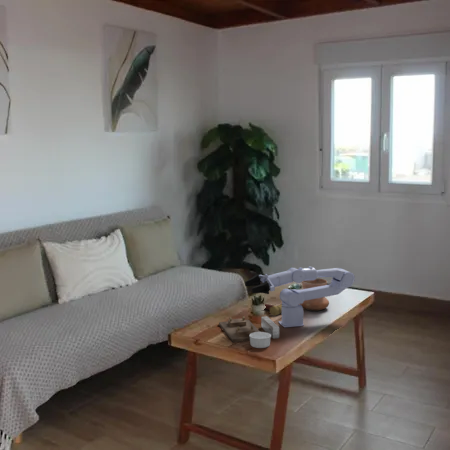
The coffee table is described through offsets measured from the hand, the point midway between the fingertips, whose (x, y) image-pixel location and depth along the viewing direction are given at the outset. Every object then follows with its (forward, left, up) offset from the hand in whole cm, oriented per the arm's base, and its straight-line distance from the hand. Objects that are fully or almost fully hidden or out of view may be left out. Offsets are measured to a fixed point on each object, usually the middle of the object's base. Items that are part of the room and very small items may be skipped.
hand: (248, 287), depth 266 cm
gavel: (-18, -27, -20) cm, 38 cm away
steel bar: (-8, +6, -19) cm, 22 cm away
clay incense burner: (-41, -23, -19) cm, 51 cm away
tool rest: (+4, +2, -19) cm, 20 cm away
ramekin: (+1, +20, -19) cm, 28 cm away
